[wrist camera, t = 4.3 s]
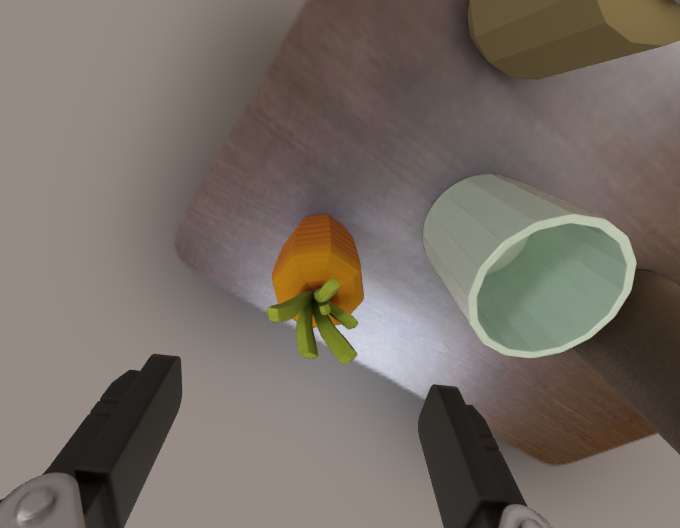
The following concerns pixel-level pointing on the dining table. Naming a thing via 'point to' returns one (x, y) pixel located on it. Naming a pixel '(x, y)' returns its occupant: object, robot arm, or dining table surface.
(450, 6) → the dining table surface
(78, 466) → the robot arm
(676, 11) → the squeeze bottle
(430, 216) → the tumbler
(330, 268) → the carrot
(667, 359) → the pillar candle
